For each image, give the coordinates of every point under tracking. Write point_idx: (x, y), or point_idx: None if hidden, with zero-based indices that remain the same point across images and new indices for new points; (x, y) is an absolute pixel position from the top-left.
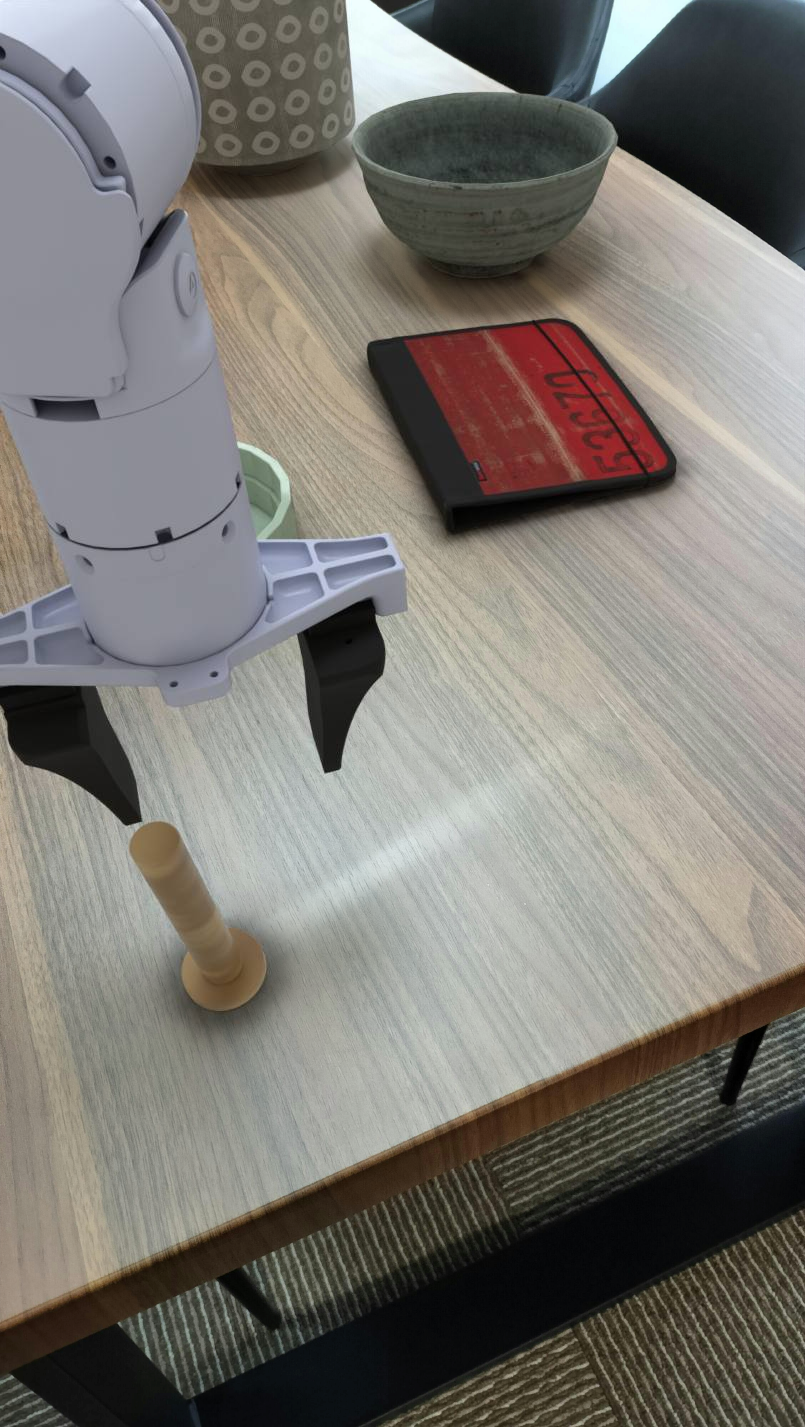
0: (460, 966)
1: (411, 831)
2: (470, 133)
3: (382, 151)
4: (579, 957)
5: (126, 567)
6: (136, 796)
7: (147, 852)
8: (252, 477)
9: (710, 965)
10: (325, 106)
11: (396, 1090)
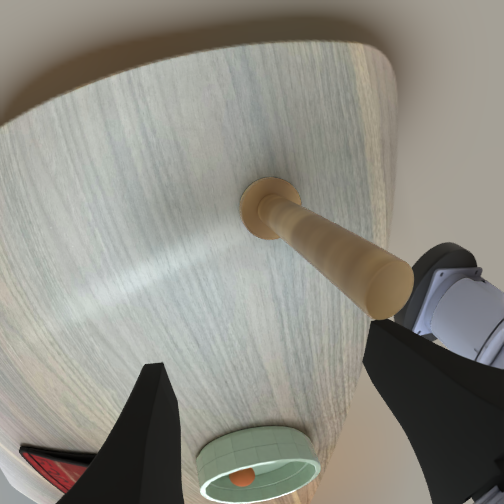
0: (96, 183)
1: (123, 296)
2: None
3: None
4: (24, 182)
5: None
6: (373, 347)
7: (401, 278)
8: (220, 488)
9: None
10: None
11: (157, 94)
